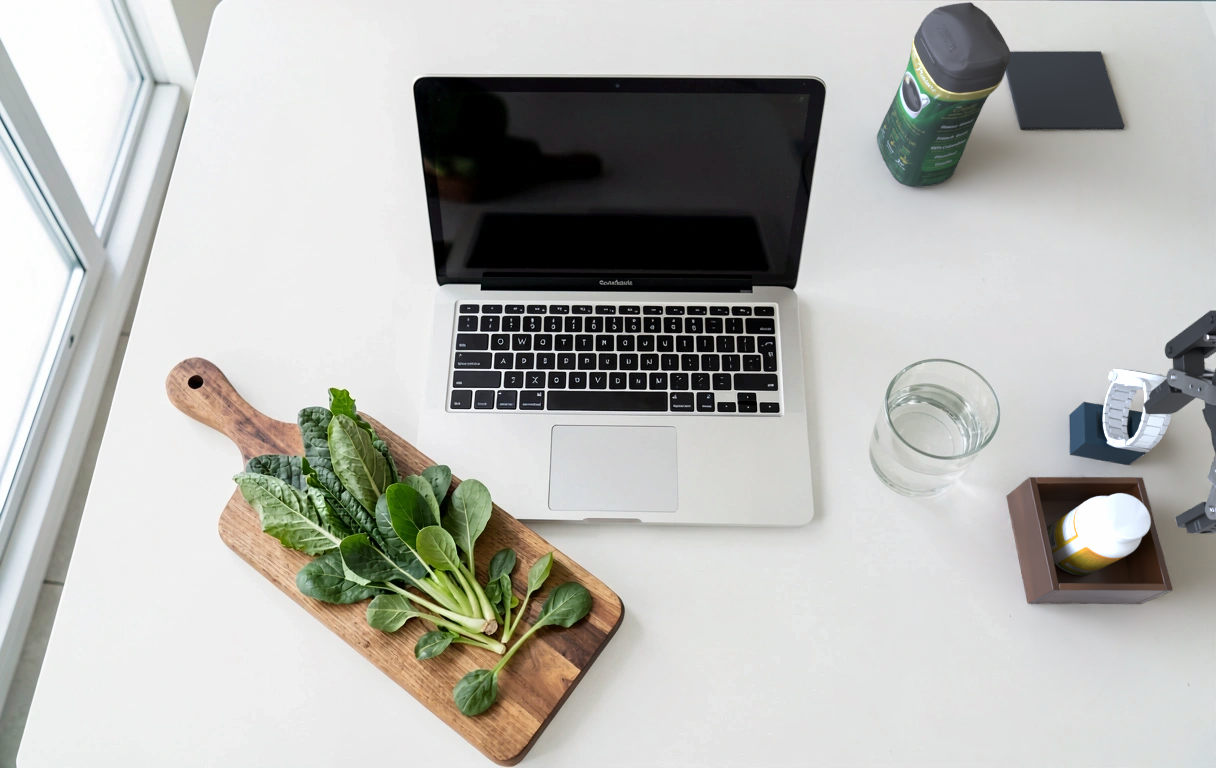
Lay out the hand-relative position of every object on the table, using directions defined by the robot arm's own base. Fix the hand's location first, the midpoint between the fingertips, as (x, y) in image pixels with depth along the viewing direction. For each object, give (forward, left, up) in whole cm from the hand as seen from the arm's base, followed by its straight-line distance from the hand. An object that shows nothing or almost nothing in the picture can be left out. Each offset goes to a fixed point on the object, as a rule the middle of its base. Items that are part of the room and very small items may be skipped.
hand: (1172, 464), depth 64 cm
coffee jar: (+5, -46, -22) cm, 51 cm away
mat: (-14, -56, -22) cm, 62 cm away
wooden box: (-3, 0, -22) cm, 22 cm away
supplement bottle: (-3, 0, -22) cm, 22 cm away
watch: (-8, -11, -22) cm, 26 cm away
